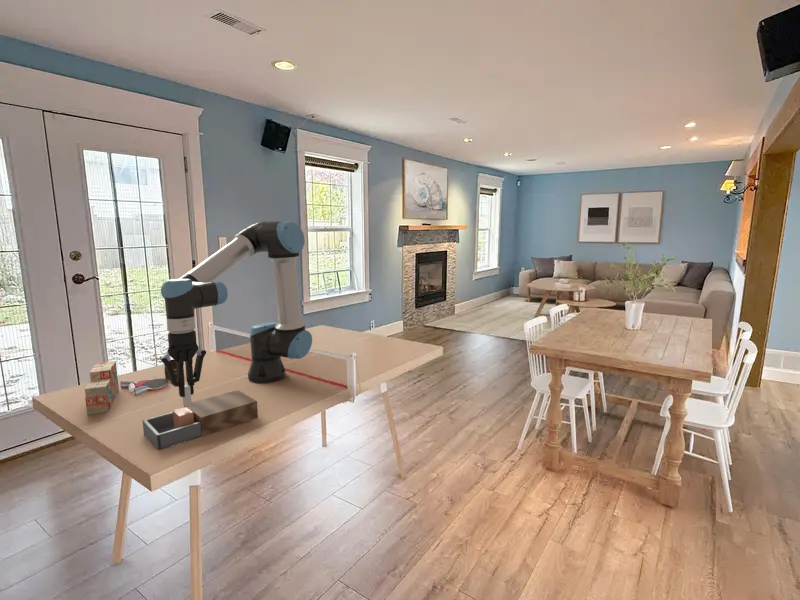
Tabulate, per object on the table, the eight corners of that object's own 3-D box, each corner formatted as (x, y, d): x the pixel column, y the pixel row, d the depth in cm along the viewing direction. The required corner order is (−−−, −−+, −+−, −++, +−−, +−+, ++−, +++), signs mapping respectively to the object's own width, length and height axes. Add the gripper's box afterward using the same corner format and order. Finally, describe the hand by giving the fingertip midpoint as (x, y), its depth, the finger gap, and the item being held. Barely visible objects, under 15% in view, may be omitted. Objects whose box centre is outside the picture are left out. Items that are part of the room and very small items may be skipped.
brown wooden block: (239, 406, 153) (238, 390, 152) (258, 418, 143) (257, 401, 142) (185, 421, 140) (183, 404, 139) (202, 436, 130) (200, 417, 129)
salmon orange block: (186, 406, 136) (172, 410, 133) (193, 412, 132) (179, 416, 129) (187, 424, 137) (174, 428, 134) (194, 430, 133) (180, 435, 130)
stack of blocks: (109, 412, 148) (105, 377, 146) (86, 415, 145) (82, 380, 143) (119, 391, 167) (116, 360, 165) (99, 393, 164) (96, 362, 162)
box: (184, 422, 140) (183, 408, 139) (201, 436, 130) (200, 422, 130) (143, 433, 132) (142, 420, 131) (158, 450, 122) (157, 435, 121)
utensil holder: (162, 377, 182) (159, 350, 180) (176, 373, 187) (174, 346, 185) (169, 380, 179) (167, 352, 177) (184, 376, 184) (182, 348, 182)
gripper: (162, 336, 122) (168, 415, 126) (208, 329, 131) (213, 403, 135) (153, 332, 128) (160, 408, 131) (199, 325, 137) (204, 396, 140)
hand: (187, 405), depth 133 cm, fingers closed
